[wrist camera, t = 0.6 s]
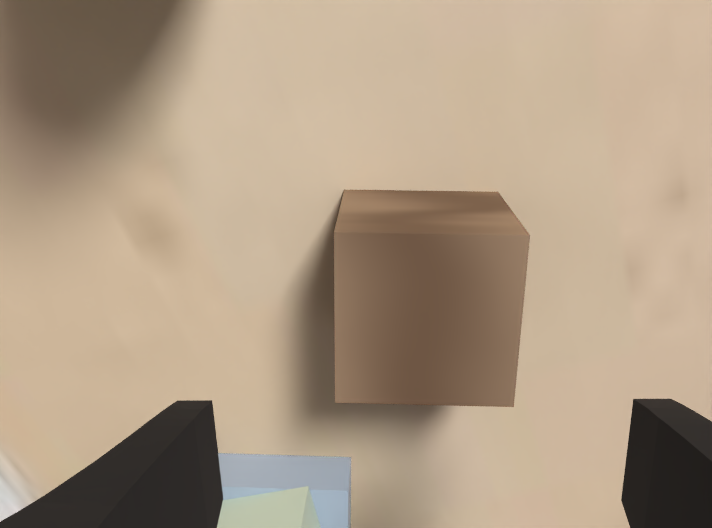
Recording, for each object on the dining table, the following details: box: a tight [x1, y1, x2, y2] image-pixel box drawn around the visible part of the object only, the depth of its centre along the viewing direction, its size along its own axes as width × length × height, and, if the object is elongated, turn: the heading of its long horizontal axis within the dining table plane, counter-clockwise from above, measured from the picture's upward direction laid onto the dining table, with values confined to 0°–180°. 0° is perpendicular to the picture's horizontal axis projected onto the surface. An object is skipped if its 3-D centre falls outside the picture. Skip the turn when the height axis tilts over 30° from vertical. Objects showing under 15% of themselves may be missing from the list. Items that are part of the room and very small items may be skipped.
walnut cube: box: [334, 190, 530, 407], centre depth 18 cm, size 4×4×4 cm
